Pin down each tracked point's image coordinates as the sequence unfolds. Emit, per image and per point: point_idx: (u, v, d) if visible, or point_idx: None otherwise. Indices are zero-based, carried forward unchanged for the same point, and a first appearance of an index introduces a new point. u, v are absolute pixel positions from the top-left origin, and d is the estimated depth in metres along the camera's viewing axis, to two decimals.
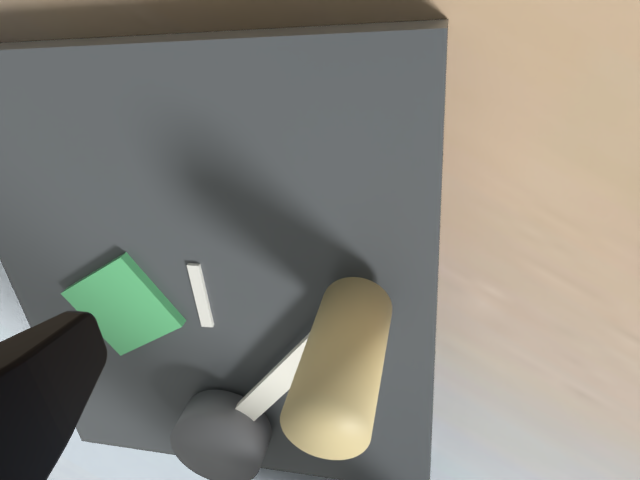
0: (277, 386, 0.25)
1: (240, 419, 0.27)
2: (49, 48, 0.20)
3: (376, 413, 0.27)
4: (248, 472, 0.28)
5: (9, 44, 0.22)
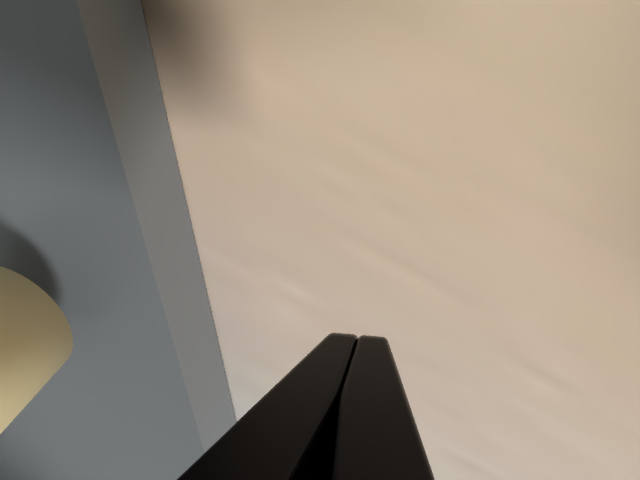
0: None
1: None
2: None
3: None
4: None
5: None
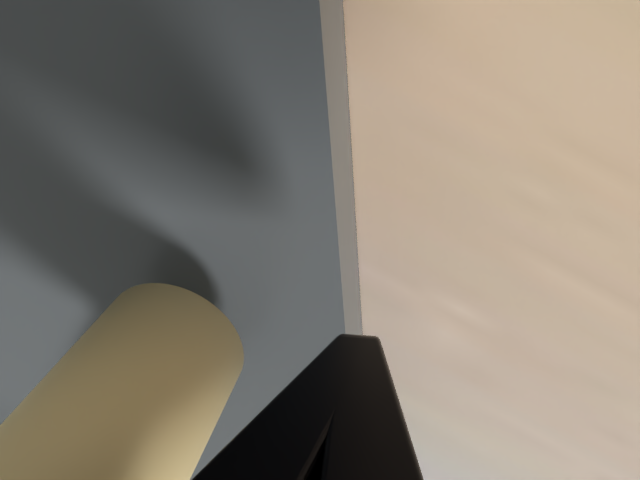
0: None
1: None
2: None
3: None
4: None
5: None
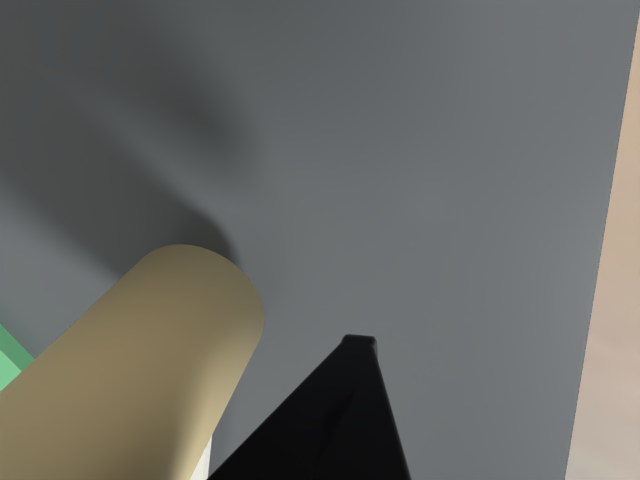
0: None
1: None
2: None
3: None
4: None
5: None
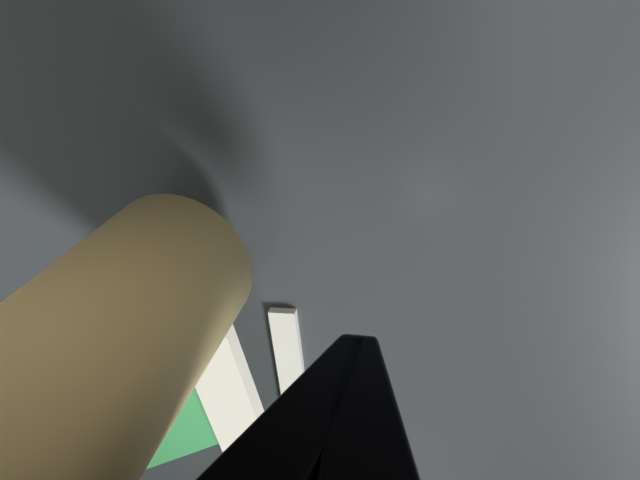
0: None
1: None
2: None
3: None
4: None
5: None
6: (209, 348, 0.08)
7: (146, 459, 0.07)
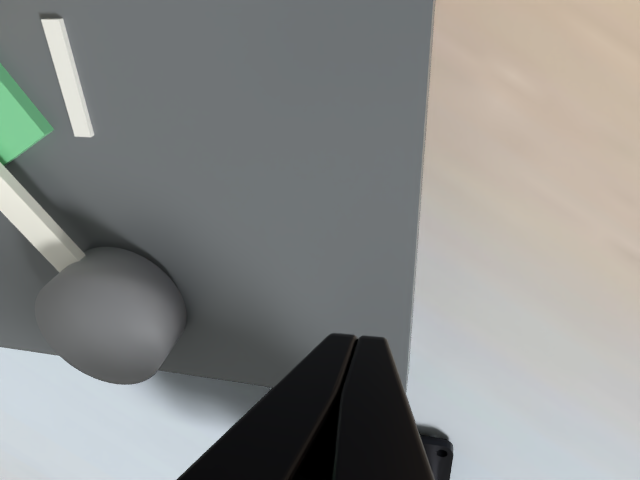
0: (7, 199, 0.18)
1: (58, 273, 0.19)
2: None
3: (332, 280, 0.18)
4: (133, 313, 0.18)
5: None
6: None
7: None
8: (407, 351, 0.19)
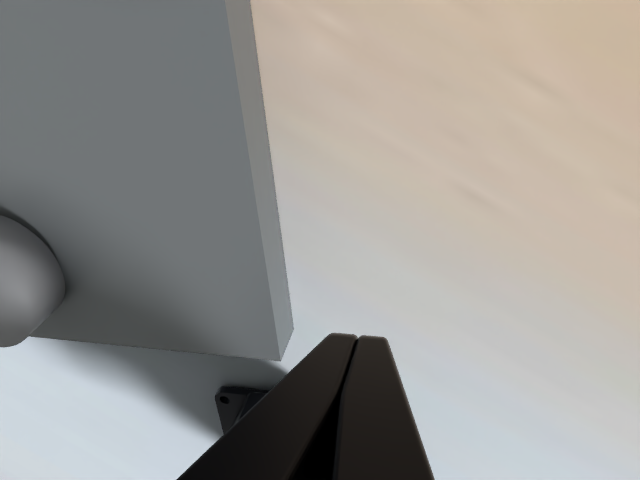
0: None
1: None
2: None
3: (188, 233, 0.19)
4: None
5: None
6: None
7: None
8: (270, 302, 0.20)
